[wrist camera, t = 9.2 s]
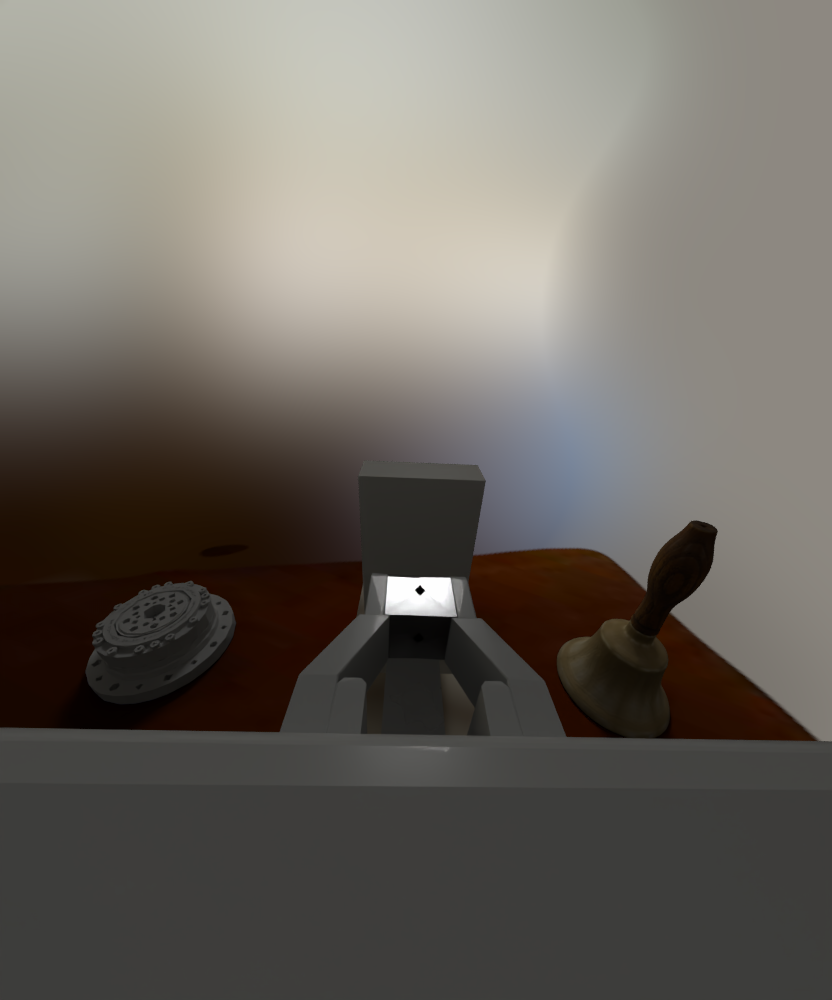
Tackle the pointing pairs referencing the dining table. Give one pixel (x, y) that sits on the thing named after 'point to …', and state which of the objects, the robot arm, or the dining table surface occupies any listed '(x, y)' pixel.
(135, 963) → the robot arm
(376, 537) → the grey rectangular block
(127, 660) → the mechanical component
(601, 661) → the hand bell
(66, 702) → the dining table surface
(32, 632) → the dining table surface
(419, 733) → the grey clamp fixture
